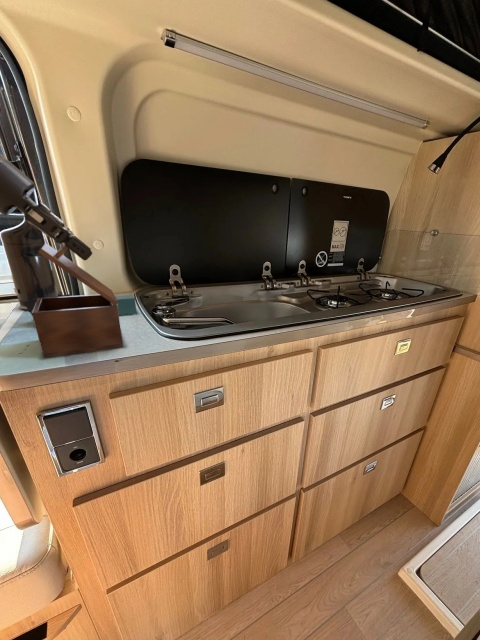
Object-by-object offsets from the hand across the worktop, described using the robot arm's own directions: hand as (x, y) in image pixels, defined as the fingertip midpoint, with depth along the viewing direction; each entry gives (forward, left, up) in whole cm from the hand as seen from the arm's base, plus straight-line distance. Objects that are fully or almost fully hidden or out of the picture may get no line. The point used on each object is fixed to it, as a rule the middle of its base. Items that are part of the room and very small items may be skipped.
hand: (88, 255), depth 57 cm
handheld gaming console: (-17, -8, -18) cm, 26 cm away
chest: (0, -4, -18) cm, 18 cm away
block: (-20, +7, -18) cm, 28 cm away
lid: (0, -2, -4) cm, 4 cm away
